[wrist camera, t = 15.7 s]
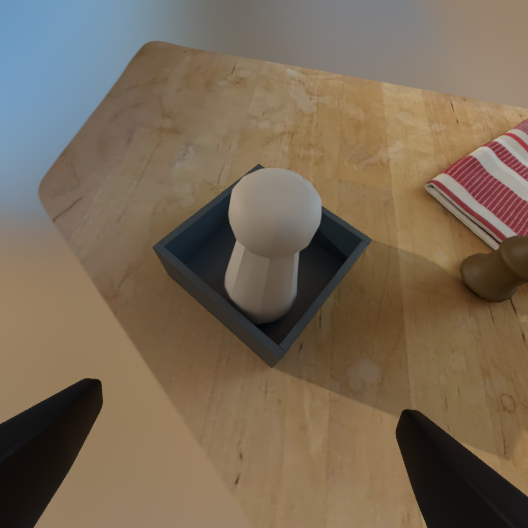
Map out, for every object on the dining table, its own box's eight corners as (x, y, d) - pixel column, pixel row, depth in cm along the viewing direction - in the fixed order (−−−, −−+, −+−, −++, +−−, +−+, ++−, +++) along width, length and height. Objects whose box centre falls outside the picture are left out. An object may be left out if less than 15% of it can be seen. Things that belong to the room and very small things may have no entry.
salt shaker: (210, 297, 22) (179, 189, 11) (256, 256, 24) (270, 129, 13) (261, 346, 21) (287, 280, 9) (305, 297, 23) (370, 194, 11)
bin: (271, 368, 21) (280, 359, 16) (168, 274, 24) (151, 246, 19) (349, 266, 26) (372, 239, 21) (255, 199, 29) (258, 163, 24)
